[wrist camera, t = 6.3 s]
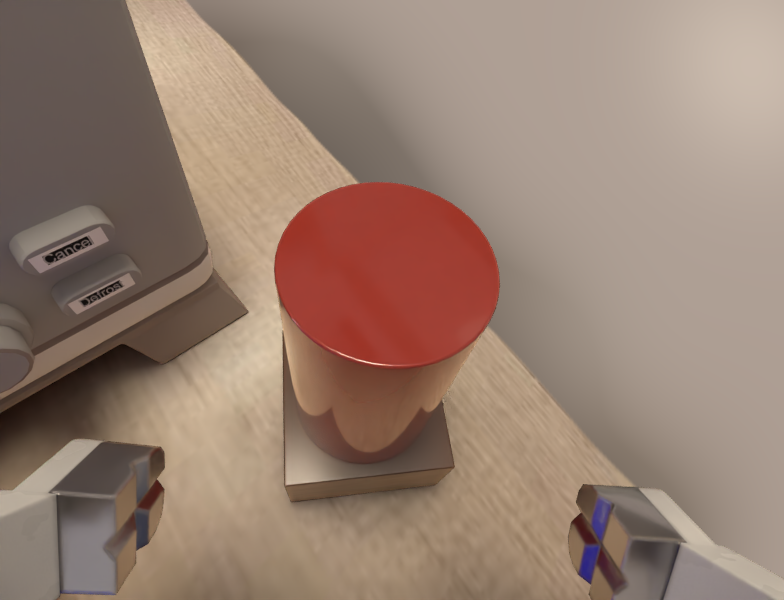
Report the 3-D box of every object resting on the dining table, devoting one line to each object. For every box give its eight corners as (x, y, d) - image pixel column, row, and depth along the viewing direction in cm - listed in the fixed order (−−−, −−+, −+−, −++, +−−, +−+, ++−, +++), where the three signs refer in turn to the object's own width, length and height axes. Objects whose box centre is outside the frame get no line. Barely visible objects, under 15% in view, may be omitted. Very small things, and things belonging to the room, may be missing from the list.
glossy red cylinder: (419, 330, 23) (473, 180, 15) (441, 456, 20) (527, 359, 11) (293, 338, 22) (273, 181, 14) (296, 472, 19) (274, 377, 10)
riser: (414, 355, 27) (427, 321, 23) (435, 485, 23) (454, 467, 20) (288, 363, 26) (282, 329, 22) (290, 502, 22) (284, 486, 19)
